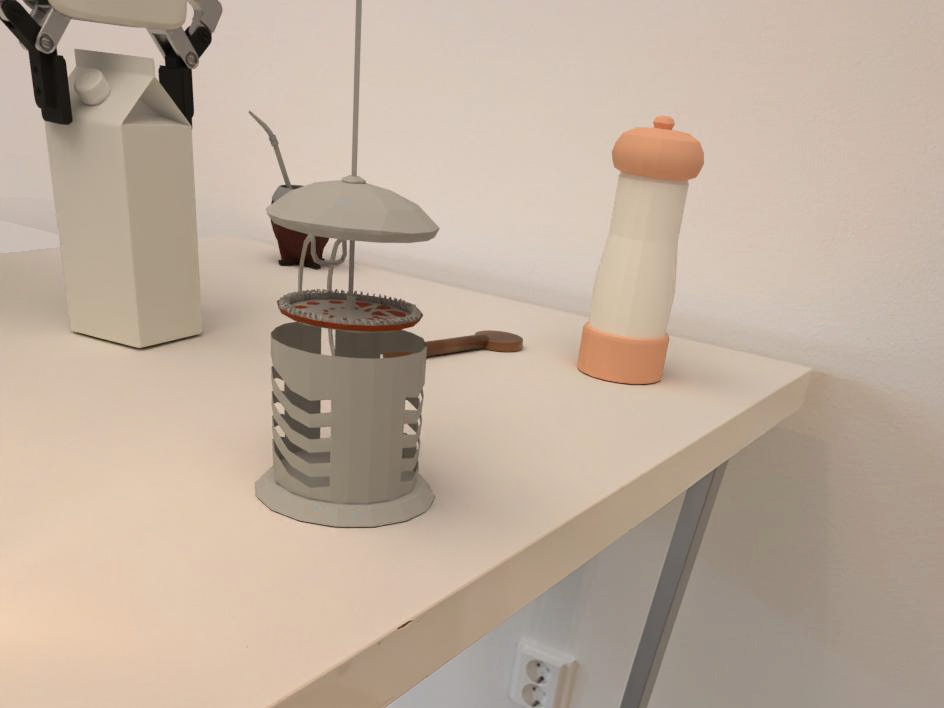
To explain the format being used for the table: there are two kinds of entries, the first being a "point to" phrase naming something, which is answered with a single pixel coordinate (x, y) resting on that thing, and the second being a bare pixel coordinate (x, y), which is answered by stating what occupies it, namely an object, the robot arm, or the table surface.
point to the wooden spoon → (469, 344)
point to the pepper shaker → (640, 255)
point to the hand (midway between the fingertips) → (120, 125)
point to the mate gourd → (287, 238)
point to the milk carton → (126, 204)
